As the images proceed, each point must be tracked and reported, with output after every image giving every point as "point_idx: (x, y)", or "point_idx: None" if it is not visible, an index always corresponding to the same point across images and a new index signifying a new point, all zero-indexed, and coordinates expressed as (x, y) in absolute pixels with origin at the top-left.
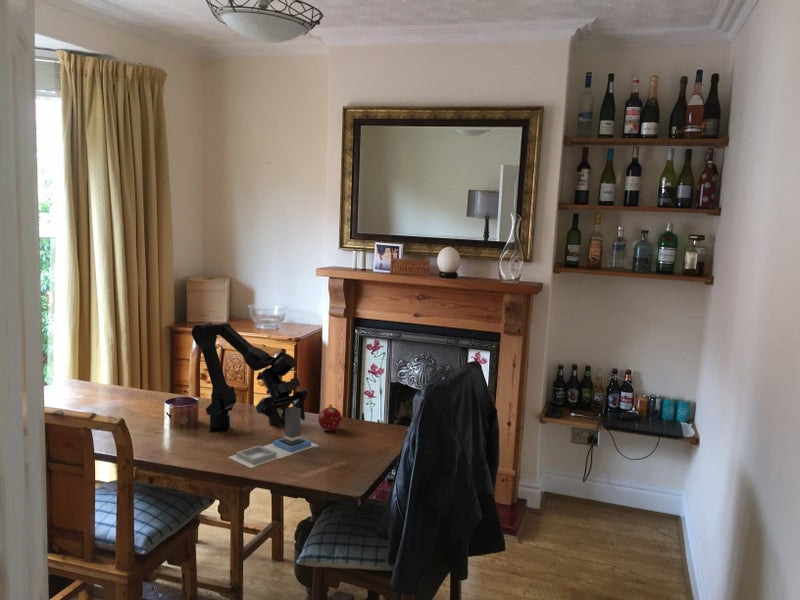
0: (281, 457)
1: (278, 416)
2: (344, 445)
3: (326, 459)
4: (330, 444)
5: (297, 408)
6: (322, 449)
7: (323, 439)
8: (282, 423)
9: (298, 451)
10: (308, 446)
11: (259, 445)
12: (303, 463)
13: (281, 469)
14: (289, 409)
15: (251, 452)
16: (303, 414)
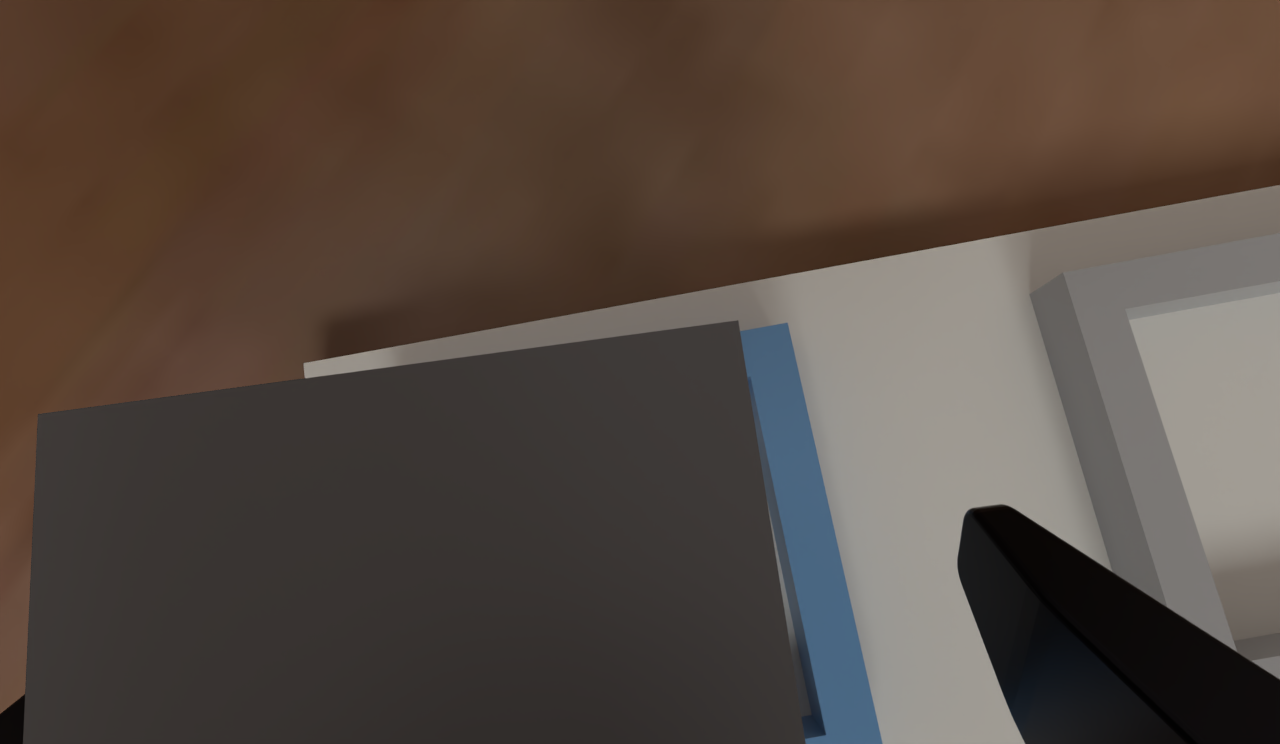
0: (973, 245)
1: (1274, 717)
2: (10, 271)
3: (473, 18)
4: (119, 400)
5: (188, 532)
6: (315, 304)
7: None
8: (997, 522)
9: (667, 310)
10: None
11: None
12: (762, 51)
13: (1070, 31)
14: (772, 622)
15: None
16: (15, 736)
